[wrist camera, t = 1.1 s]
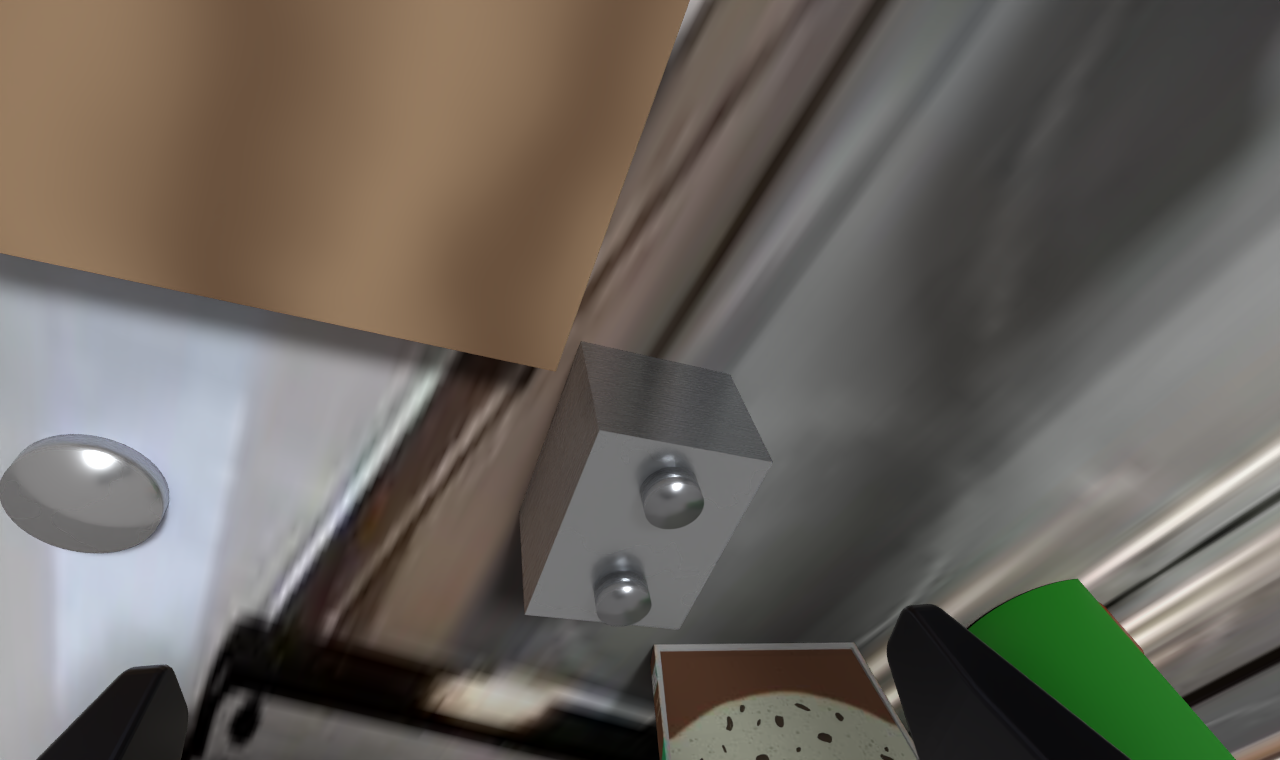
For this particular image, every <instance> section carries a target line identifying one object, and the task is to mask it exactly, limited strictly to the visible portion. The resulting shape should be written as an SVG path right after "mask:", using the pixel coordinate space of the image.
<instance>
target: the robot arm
mask: <svg viewBox="0 0 1280 760" xmlns="http://www.w3.org/2000/svg"><path fill="white" fill-rule="evenodd" d="M887 658H888V663H889V666H890V669H891V672H892V676H893V679H894V682H895V685H896V688H897V691H898V695H899V698H900V701H901V704H902V707H903V711H904V714H905V717H906V720H907V723H908V726H909V730H910V733H911V736H912V739H913V742H914V745H915V749H916V752H917V755H918V758H919V760H1131V759H1130V758H1129V757H1128V756H1126V755H1125V754H1124V753H1123V752H1121V751H1120V750H1119V749H1118V748H1116V747H1115V746H1114V745H1112V744H1111V743H1110V742H1109V741H1107V740H1106V739H1105V738H1104V737H1102V736H1101V735H1100V734H1099V733H1097V732H1096V731H1095V730H1094V729H1092V728H1091V727H1090V726H1089V725H1087V724H1086V723H1085V722H1083V721H1082V720H1081V719H1080V718H1078V717H1077V716H1076V715H1075V714H1073V713H1072V712H1071V711H1070V710H1068V709H1067V708H1066V707H1065V706H1063V705H1062V704H1061V703H1059V702H1058V701H1057V700H1056V699H1054V698H1053V697H1052V696H1051V695H1049V694H1048V693H1047V692H1046V691H1044V690H1043V689H1042V688H1041V687H1039V686H1038V685H1037V684H1036V683H1034V682H1033V681H1032V680H1030V679H1029V678H1028V677H1027V676H1025V675H1024V674H1023V673H1022V672H1020V671H1019V670H1018V669H1017V668H1015V667H1014V666H1013V665H1012V664H1010V663H1009V662H1008V661H1007V660H1005V659H1004V658H1003V657H1001V656H1000V655H999V654H998V653H996V652H995V651H994V650H993V649H991V648H990V647H989V646H988V645H986V644H985V643H984V642H983V641H981V640H980V639H979V638H978V637H976V636H975V635H974V634H972V633H971V632H970V631H969V630H967V629H966V628H965V627H964V626H962V625H961V624H960V623H959V622H957V621H956V620H955V619H954V618H952V617H951V616H950V615H948V614H947V613H946V612H945V611H943V610H942V609H941V608H939V607H937V606H935V605H932V604H923V605H910V606H907V607H905V608H904V609H903V610H902V612H901V614H900V616H899V618H898V620H897V623H896V625H895V627H894V629H893V632H892V634H891V636H890V639H889V641H888V644H887ZM187 726H188V708H187V705H186V702H185V699H184V697H183V694H182V691H181V689H180V686H179V683H178V681H177V678H176V675H175V673H174V671H173V669H172V668H171V667H170V666H168V665H151V666H138V667H133V668H130V669H128V670H126V671H124V672H123V673H122V674H121V675H119V676H118V677H117V678H116V679H115V680H114V681H113V682H112V683H111V684H110V685H109V686H108V688H107V689H106V690H105V691H104V692H103V693H102V694H101V695H100V696H99V697H98V698H97V699H96V700H95V701H94V702H93V703H92V704H91V705H90V706H89V707H88V708H87V709H86V710H85V711H84V712H83V713H82V714H81V715H80V716H79V717H78V718H77V719H76V720H75V721H74V722H73V723H72V724H71V725H70V726H69V727H68V728H67V729H66V730H65V731H64V732H63V733H62V734H61V735H60V736H59V737H58V738H57V739H56V740H55V741H54V742H53V743H52V744H51V745H50V746H49V747H48V748H47V749H46V750H45V751H44V752H43V753H42V754H41V755H40V756H39V757H38V758H37V759H36V760H181V755H182V751H183V746H184V741H185V736H186V732H187Z"/></svg>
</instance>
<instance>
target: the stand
mask: <svg viewBox="0 0 1280 760" xmlns="http://www.w3.org/2000/svg"><path fill="white" fill-rule="evenodd" d="M689 1H690V0H0V253H3V254H7V255H12V256H17V257H21V258H26V259H31V260H36V261H40V262H45V263H50V264H54V265H59V266H64V267H68V268H73V269H78V270H82V271H87V272H92V273H96V274H101V275H106V276H110V277H115V278H120V279H124V280H129V281H134V282H138V283H143V284H148V285H153V286H157V287H162V288H167V289H171V290H176V291H181V292H185V293H190V294H195V295H199V296H204V297H209V298H213V299H218V300H223V301H227V302H232V303H237V304H241V305H246V306H251V307H255V308H260V309H265V310H270V311H274V312H279V313H284V314H288V315H293V316H298V317H302V318H307V319H312V320H316V321H321V322H326V323H330V324H335V325H340V326H344V327H349V328H354V329H358V330H363V331H368V332H372V333H377V334H382V335H387V336H391V337H396V338H401V339H405V340H410V341H415V342H419V343H424V344H429V345H433V346H438V347H443V348H447V349H452V350H457V351H461V352H466V353H471V354H475V355H480V356H485V357H489V358H494V359H499V360H504V361H508V362H513V363H518V364H522V365H527V366H532V367H536V368H541V369H546V370H550V371H555V372H556V369H557V366H558V364H559V361H560V358H561V355H562V353H563V350H564V347H565V344H566V342H567V339H568V336H569V333H570V330H571V328H572V325H573V322H574V319H575V317H576V314H577V311H578V308H579V306H580V303H581V300H582V297H583V295H584V292H585V289H586V286H587V283H588V281H589V278H590V275H591V272H592V270H593V267H594V264H595V261H596V259H597V256H598V253H599V250H600V247H601V245H602V242H603V239H604V236H605V234H606V231H607V228H608V225H609V223H610V220H611V217H612V214H613V211H614V209H615V206H616V203H617V200H618V198H619V195H620V192H621V189H622V187H623V184H624V181H625V178H626V175H627V173H628V170H629V167H630V164H631V162H632V159H633V156H634V153H635V151H636V148H637V145H638V142H639V140H640V137H641V134H642V131H643V128H644V126H645V123H646V120H647V117H648V115H649V112H650V109H651V106H652V104H653V101H654V98H655V95H656V92H657V90H658V87H659V84H660V81H661V79H662V76H663V73H664V70H665V68H666V65H667V62H668V59H669V56H670V54H671V51H672V48H673V45H674V43H675V40H676V37H677V34H678V32H679V29H680V26H681V23H682V21H683V18H684V15H685V12H686V9H687V7H688V4H689Z"/></svg>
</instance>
